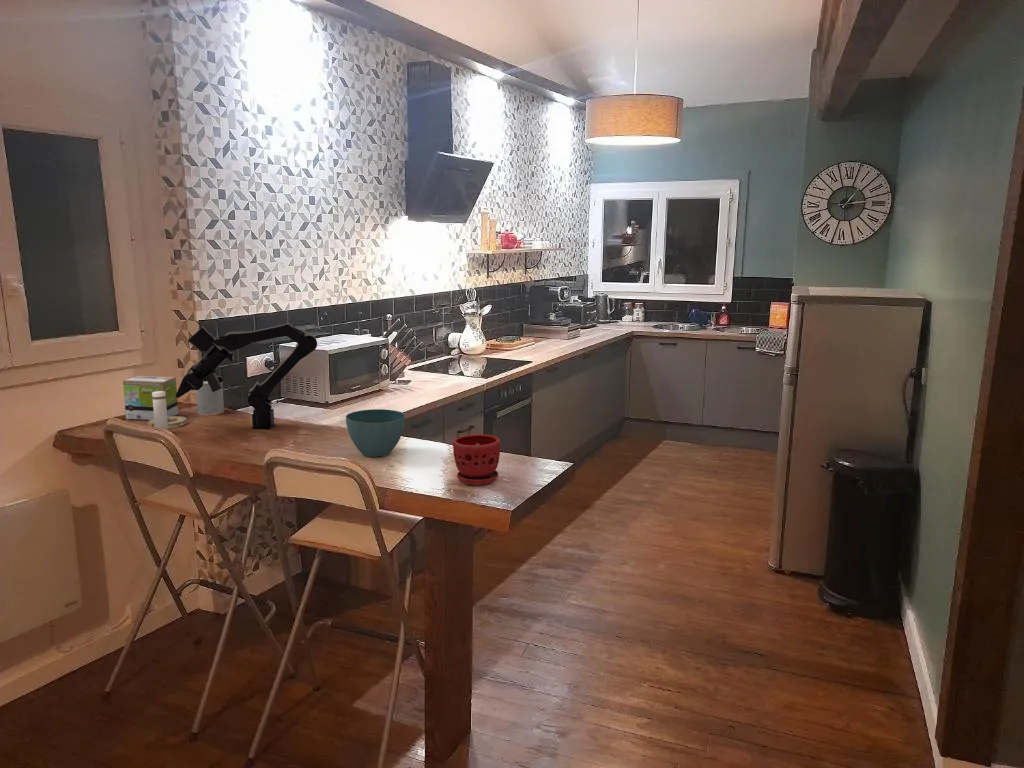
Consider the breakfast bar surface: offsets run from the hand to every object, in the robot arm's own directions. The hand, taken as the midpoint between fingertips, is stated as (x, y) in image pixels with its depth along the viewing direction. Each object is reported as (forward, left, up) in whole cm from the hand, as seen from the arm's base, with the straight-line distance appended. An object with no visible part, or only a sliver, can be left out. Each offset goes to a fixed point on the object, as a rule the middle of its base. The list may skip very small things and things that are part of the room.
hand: (178, 394), depth 250 cm
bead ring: (+9, -8, -13) cm, 18 cm away
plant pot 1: (-72, +18, -13) cm, 76 cm away
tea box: (+20, -18, -13) cm, 30 cm away
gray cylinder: (+3, -27, -13) cm, 31 cm away
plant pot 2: (-106, +40, -13) cm, 114 cm away
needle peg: (+6, +2, -13) cm, 14 cm away
